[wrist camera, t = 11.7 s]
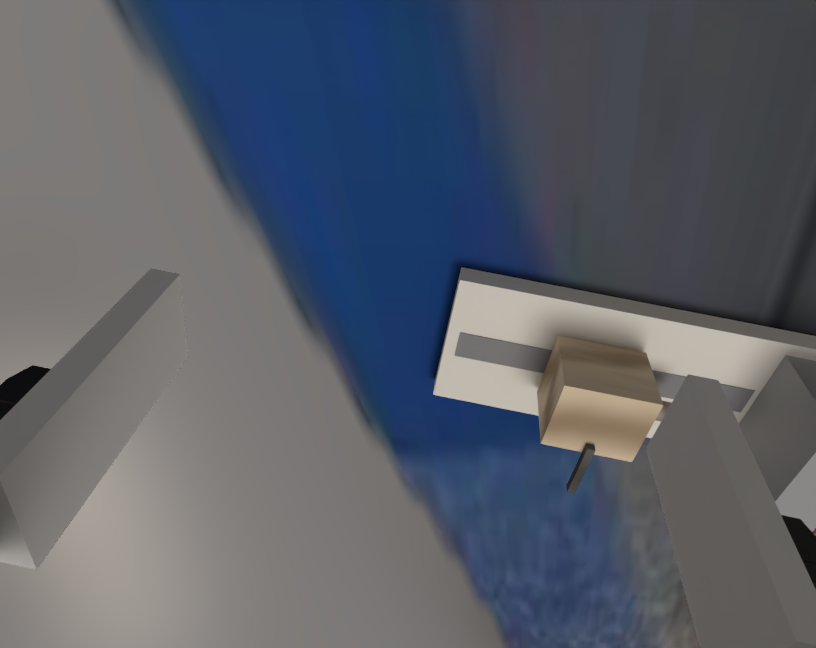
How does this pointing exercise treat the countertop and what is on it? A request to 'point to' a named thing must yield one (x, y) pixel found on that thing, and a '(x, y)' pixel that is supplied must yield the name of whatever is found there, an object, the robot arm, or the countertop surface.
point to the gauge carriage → (597, 402)
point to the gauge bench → (668, 356)
